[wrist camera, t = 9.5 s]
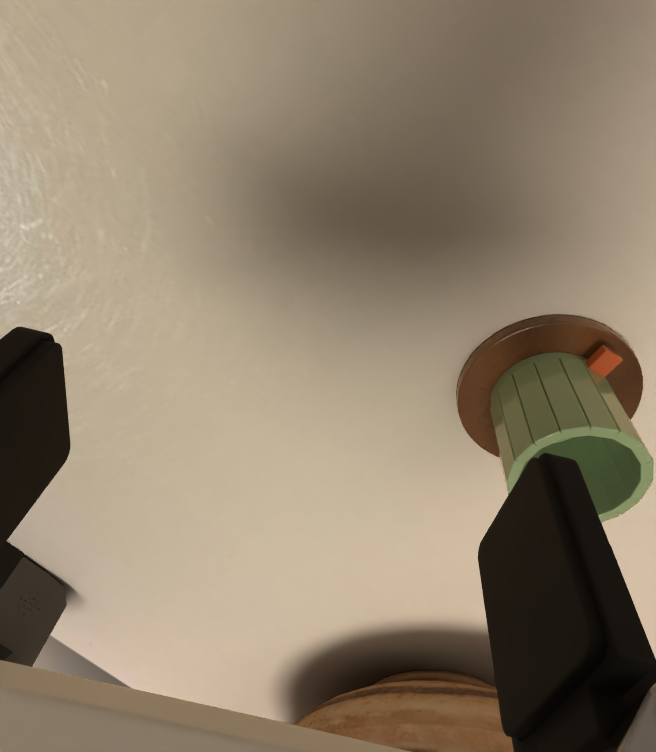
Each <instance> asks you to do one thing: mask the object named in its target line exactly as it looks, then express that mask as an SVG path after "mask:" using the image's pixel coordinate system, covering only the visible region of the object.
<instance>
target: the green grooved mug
mask: <svg viewBox="0 0 656 752" xmlns="http://www.w3.org/2000/svg"><path fill="white" fill-rule="evenodd" d="M621 362H622V358H621V356H620V355H619V354H618V353H617V352H615V351H613V350H612V349H610V348H608V347H607V346H605V345H602V346H601V347H600V348H599V349H598V350H597V351H596V352H595V353H594V354H593V355H592V356H591V357H590V358H589V359H586V358H584V357H581V356H578V355H575V354H570V353H563V352H550V353H543V354H538V355H534V356H532V357H529V358H526V359H524V360H522V361H520V362H518V363H516V364H515V365H513V366H512V367H510V368H509V369H508V370H507V371H506V372H505V373H504V374H502V376H501V377H500V378H499V379H498V381H497V382H496V384H495V385H494V387H493V390H492V392H491V396H490V402H489V407H490V413H491V418H492V424H493V429H494V433H495V437H496V442H497V446H498V451H499V455H500V459H501V464H502V468H503V473H504V477H505V481H506V486H507V490H508V495H509V494H510V492H511V490H512V489H513V487H514V485H515V484H516V482H517V480H518V478H519V477H520V475H521V473H522V472H523V470H524V468H525V467H526V465H527V463H528V462H529V460H530V459H532V458H539V457H540V455H542V454H543V453H549V454H554V455H558V456H562V457H566V458H570V459H574V460H575V461H576V462H577V464H578V465H579V468H580V470H581V473H582V475H583V478H584V481H585V483H586V486H587V488H588V491H589V493H590V496H591V498H592V501H593V503H594V506H595V509H596V511H597V514H598V516H599V519H600V521H601V522H604V521H606V520H609V519H612V518H615V517H618V516H619V514H623V513H624V512H626V511H627V510H628V509H630V508H631V507H633V506H634V505H635V504H637V503H638V502H639V501H640V500H641V499H642V498H643V496H644V495H645V493H646V491H647V490H648V488H649V487H650V485H651V484H652V481H653V466H654V462H653V458H652V457H651V455H650V453H649V451H648V450H647V448H646V446H645V444H644V443H643V441H642V439H641V437H640V436H639V434H638V432H637V430H636V429H635V427H634V425H633V423H632V422H631V420H630V418H629V416H628V415H627V413H626V411H625V409H624V408H623V406H622V404H621V402H620V401H619V399H618V397H617V395H616V394H615V392H614V390H613V388H612V387H611V385H610V384H609V382H608V380H607V378H606V376H607V375H608V374H609V373H610V372H611V371H612V370H613V369H614V368H615V367H616V366H617V365H618V364H620V363H621ZM639 499H640V500H639Z"/></svg>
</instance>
